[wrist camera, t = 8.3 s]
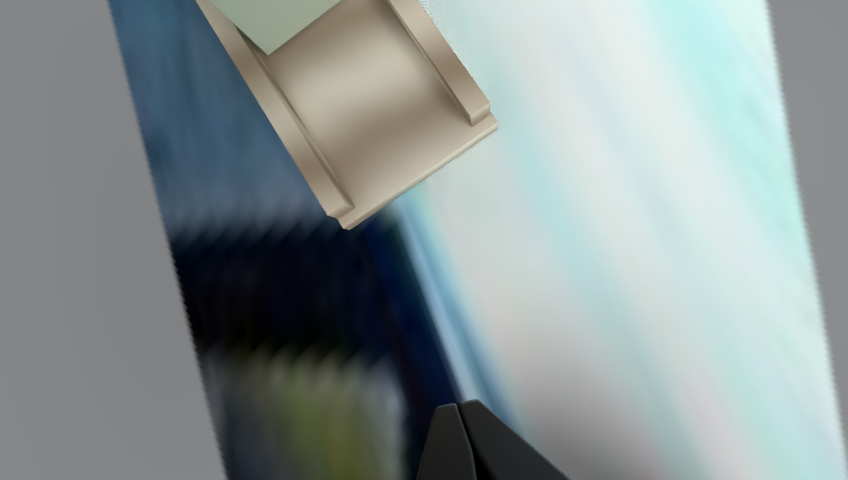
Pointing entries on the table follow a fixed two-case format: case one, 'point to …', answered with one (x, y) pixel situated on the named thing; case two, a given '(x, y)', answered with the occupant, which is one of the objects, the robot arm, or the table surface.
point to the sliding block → (272, 18)
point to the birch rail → (363, 100)
